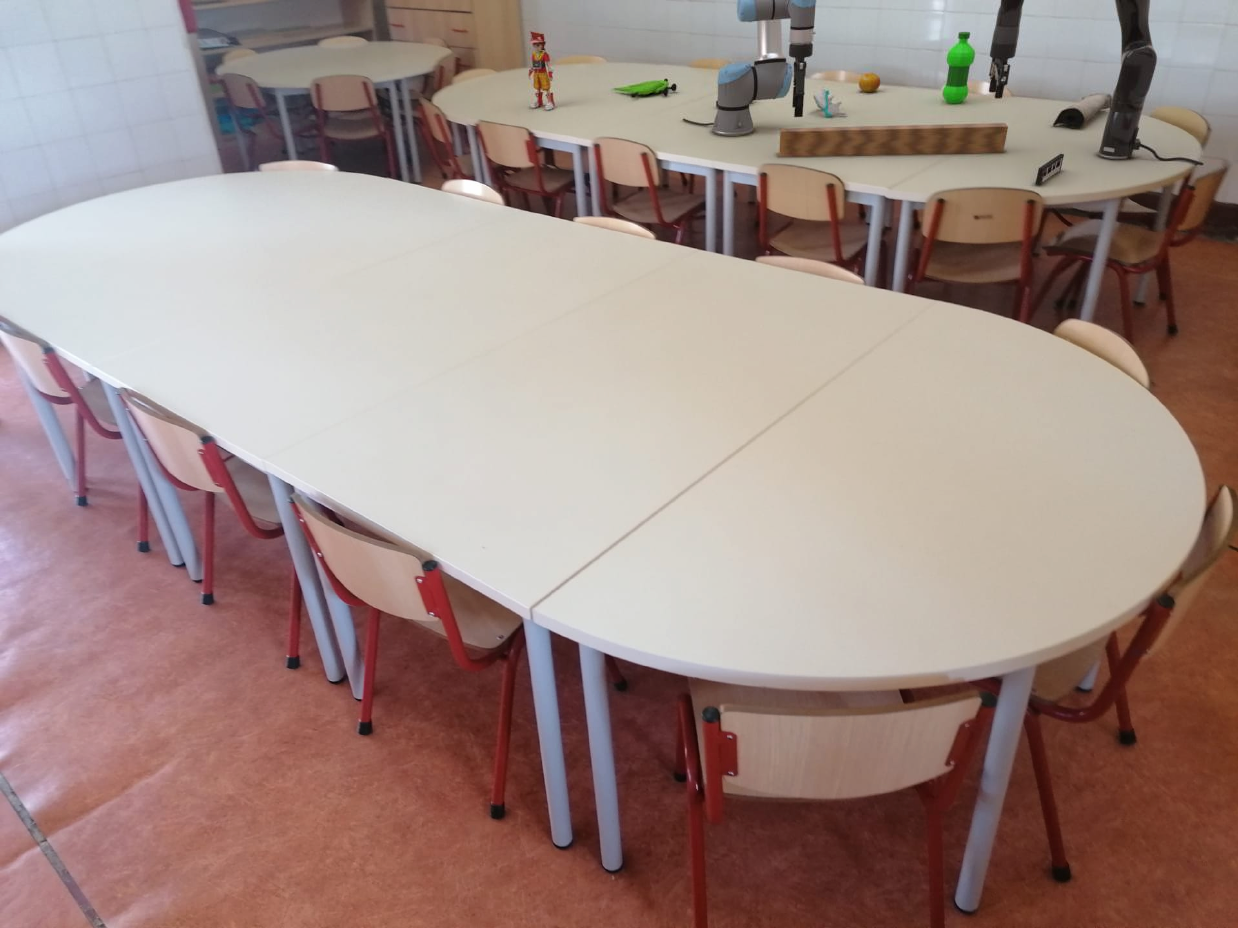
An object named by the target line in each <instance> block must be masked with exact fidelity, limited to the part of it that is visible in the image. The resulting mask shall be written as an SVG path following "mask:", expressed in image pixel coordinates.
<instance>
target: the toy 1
mask: <svg viewBox="0 0 1238 928" xmlns="http://www.w3.org/2000/svg"><path fill="white" fill-rule="evenodd" d="M529 33H530V35H531V36H528V37H527V38H528V39H529V40H528V41H527V43H529V44H530V43H531V44H532V48H533V50H534V51H533V52H532V55H531V58H530V59H531V63H530V66H528V74H527V75H528V76H527V77H528V79H529V80H531V75H532V74H533V84H532V85H533V86H532V87H533V88H534V89H535V90H536V92H534V95H535V97H536V100H535V101H533V102H531V105H530V108H531V109H535V108H538V107H542V106H544V101H543V100H544V99H543V95H544V92H546V94H545V97H546V99H547V103H546V104H545V106H544V110H546V111H549V110H553V109H554V107H555V106H556V105H555V99H554V92H551V91H550V90H551V86H552V84H551V82H552V81H553V80H554V77H553V73H554V71H555V70H554V69H552V68H551V63H550V61H551V59H550V58H551V57H550V54H549V53H548V52H547V50H546V48H545V46H546V44H547V41H545V35H544V33H543V32H542V33H539V32H535V31H529Z"/></svg>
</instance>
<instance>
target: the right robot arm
mask: <svg viewBox="0 0 1238 928" xmlns="http://www.w3.org/2000/svg"><path fill="white" fill-rule="evenodd" d="M1024 3H1025V0H1000V4H999V8H998V10H997V15H996V19H995V20H996V21H995V27H994V30H993V34H992V40H991V45H990V51H989V57H990V58H991V62H990V68H989V73H988V76H989V80H990V81H989V87H988V92H989V93H994V98H995V99H996V100H997V99H1002V98H1003V96H1004V90H1005V87H1006V86H1007V85H1008V83H1009V76H1010V71H1011V70H1010V69H1011V64H1009V61H1008V60H1009V59H1014V57H1016V52H1017V46H1018V41H1019V38H1020V37H1019V36H1020V25H1021V22H1022V21H1021V20H1022V15H1023V6H1024ZM1114 3H1115V9H1116V14H1117V18H1118V22H1119V26H1120V37H1121V48H1120V49H1121V51H1120V52H1121V53H1120V71H1119V75H1118V79H1117V81H1116V82H1117V83H1116V86H1115V88H1114V90H1113V93H1112V101H1111V105H1110V108H1108V109H1109V110H1108V114H1107V117H1106V121H1105V126H1104V128H1103V129H1104V130H1103V134H1102V137H1101V142H1100V145H1099V150H1098V152H1097V155H1098V156H1099V157H1100V158H1103V159H1108V160H1126V159H1129V160H1131V159H1132V156H1133V152H1134V151H1140V148H1142V149H1145V150H1147V151H1149V152H1150V153H1152V155H1153V156H1154V158H1155V159H1157V160H1158V161H1162V162H1172V161H1184V162H1189V163H1192V164H1195V165H1198V166H1203V165H1204V162H1201V161H1198V160H1195V159H1192V158H1188V157H1181V156H1177V157H1176V156H1175V157H1161V156H1159V154H1158V153H1157V152H1156V150H1155V149H1154V148H1151V147H1149V146H1147V145H1146V144H1143V143H1142V142H1141V140H1140V138H1137V137H1138V134H1139V131H1140V126H1139V124H1140V120H1141V117H1142V113H1143V110H1144V106H1145V103H1146V99H1147V96H1148V93H1149V91H1150V88H1151V84H1152V81H1153V78H1154V75H1155V71H1156V66H1157V63H1158V54H1157V52H1156V50H1155V48H1154V45H1153V42H1152V37H1151V32H1150V24H1149V23H1150V22H1149V21H1150V20H1149V19H1150V18H1149V17H1150V16H1149V15H1150V9H1151V0H1114Z"/></svg>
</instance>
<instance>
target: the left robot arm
mask: <svg viewBox="0 0 1238 928" xmlns="http://www.w3.org/2000/svg"><path fill="white" fill-rule="evenodd" d="M816 4H817V0H737V3H736V15H737V19H738V21H739V22H741V23H746V22H747V23H753V22H756V23H757V24H756V28H757V30H756V31H757V56H756V58H755V59H754V61H753V66H752V65H751V63H750V62H748V61H739V62H737V61H736V62H732V63H727V64H726V65H723V66H722V67H720V69H719V70H718V75H717V100H718V107H717V111H716V114H715V118H714V120H713V122H707V123H705V122H698V121H697V122H696V121H692V120H689V119H686V118H682V121H683V122H687V123H690V124H694V125H698V126H712V133H713V134H715V135H717V136H721V137H741V136H746V135H750V134H752V133H754V122H753V118H752V115H751V111H750V103H749V102H750V101H753V102H754V101H766V100H767V101H768V100H776V99H782V98H785V97H786V96H787V95H788V93H789V92H790V89H791V85H793V86H792V87H793V88H792V108H794V111H793V113H794V114H793V116H794V117H793V118H803V117H804V103H805V102H804V101H805V81H806V75H807V74H806V73H807V72H806V71H807V70H806V69H807V64H808V63H807V61H806V60H805V58H810V57H812V56H813V54H814V53H813V50H814V44H813V43H812V42H813V41H814V35H816V34H817V33H816V31H815V22H816V21H815V18H816V6H817V5H816ZM782 20H790V23H789V24H790V28H789V43H790V44H789V45H788V56H789V57H790V58H793V59H794V61H793V69H792V64H791V63H789V62H787V57H786V56H785V54H783V41H782V40H783V38H782V35H783V33H782ZM792 82H793V83H792Z"/></svg>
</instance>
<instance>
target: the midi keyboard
mask: <svg viewBox="0 0 1238 928" xmlns="http://www.w3.org/2000/svg"><path fill="white" fill-rule="evenodd" d="M1064 157H1065V153H1059V154H1058V155H1056V156H1055V157H1052V159H1051V160H1049V161H1047V162H1045V164H1042V165H1041V166H1039V167H1038V169H1037V175H1036V179H1035V186H1040V185H1042V183H1044V182H1045V181H1047V180H1048V179H1049V178H1051V177H1052V176H1054V175H1055V174H1056V173H1058V172H1060V171H1061V170H1062V165H1063V161H1064Z"/></svg>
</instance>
